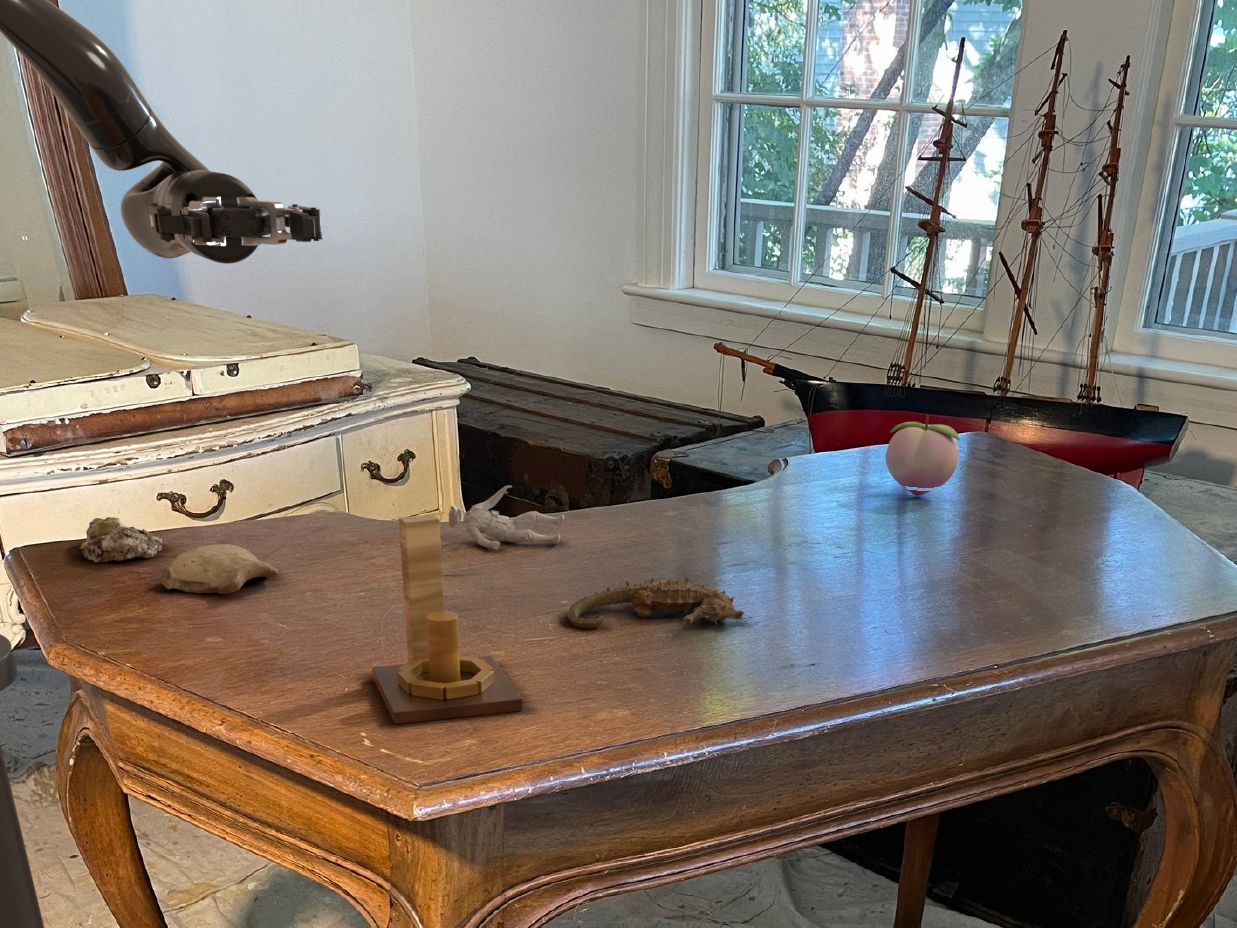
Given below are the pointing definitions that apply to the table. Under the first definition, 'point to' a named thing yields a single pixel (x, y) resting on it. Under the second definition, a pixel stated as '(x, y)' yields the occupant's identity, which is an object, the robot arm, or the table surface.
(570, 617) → the seahorse
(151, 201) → the robot arm
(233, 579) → the pottery shard
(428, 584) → the wooden ring with handle
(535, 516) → the soldier figure
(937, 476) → the decorative fruit
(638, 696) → the table surface
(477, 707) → the peg stand
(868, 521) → the table surface
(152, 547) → the mineral rock
